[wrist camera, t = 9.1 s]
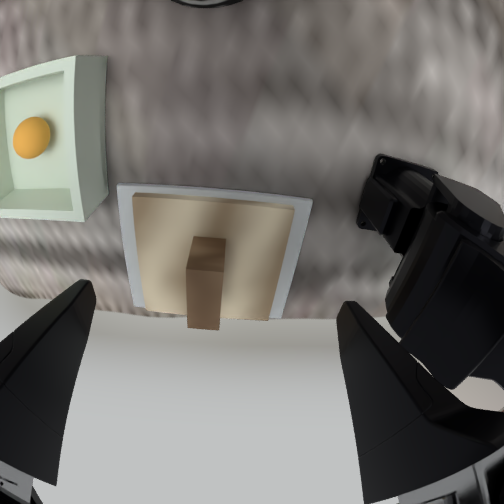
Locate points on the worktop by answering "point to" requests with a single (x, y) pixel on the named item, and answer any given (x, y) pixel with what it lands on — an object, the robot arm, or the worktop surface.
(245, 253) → the cover
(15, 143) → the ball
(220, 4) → the white-spotted black cylinder
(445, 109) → the worktop surface
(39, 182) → the dish
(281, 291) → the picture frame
